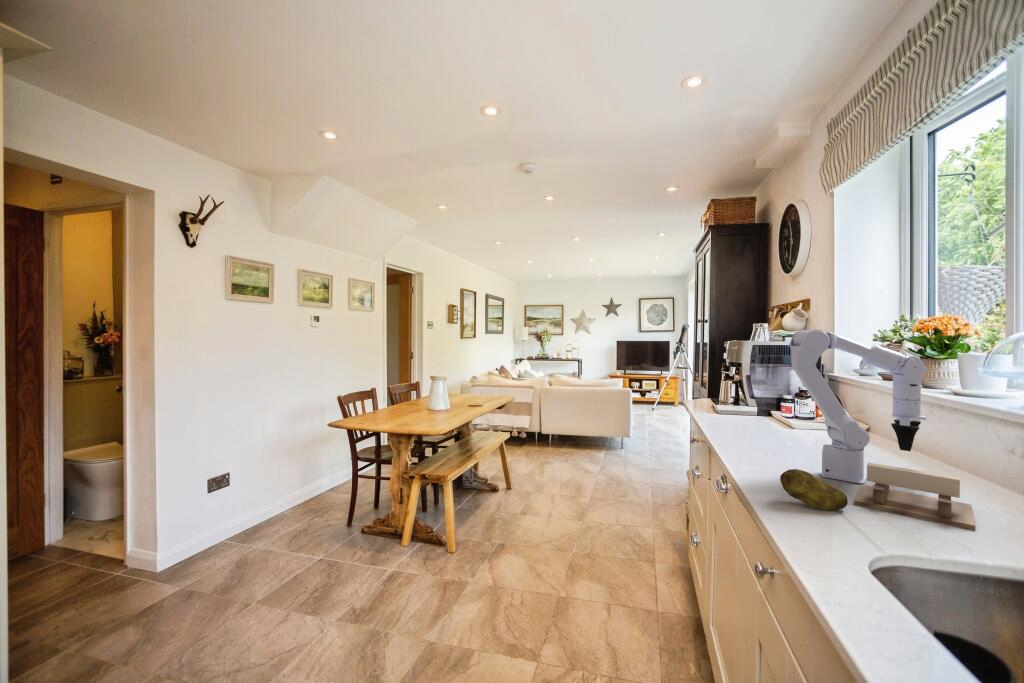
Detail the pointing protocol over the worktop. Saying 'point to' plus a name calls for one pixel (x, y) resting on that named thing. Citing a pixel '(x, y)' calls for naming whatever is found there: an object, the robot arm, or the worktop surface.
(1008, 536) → the worktop surface
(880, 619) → the worktop surface
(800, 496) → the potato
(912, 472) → the clay bar
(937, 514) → the wooden board stand
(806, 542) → the worktop surface
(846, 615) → the worktop surface
